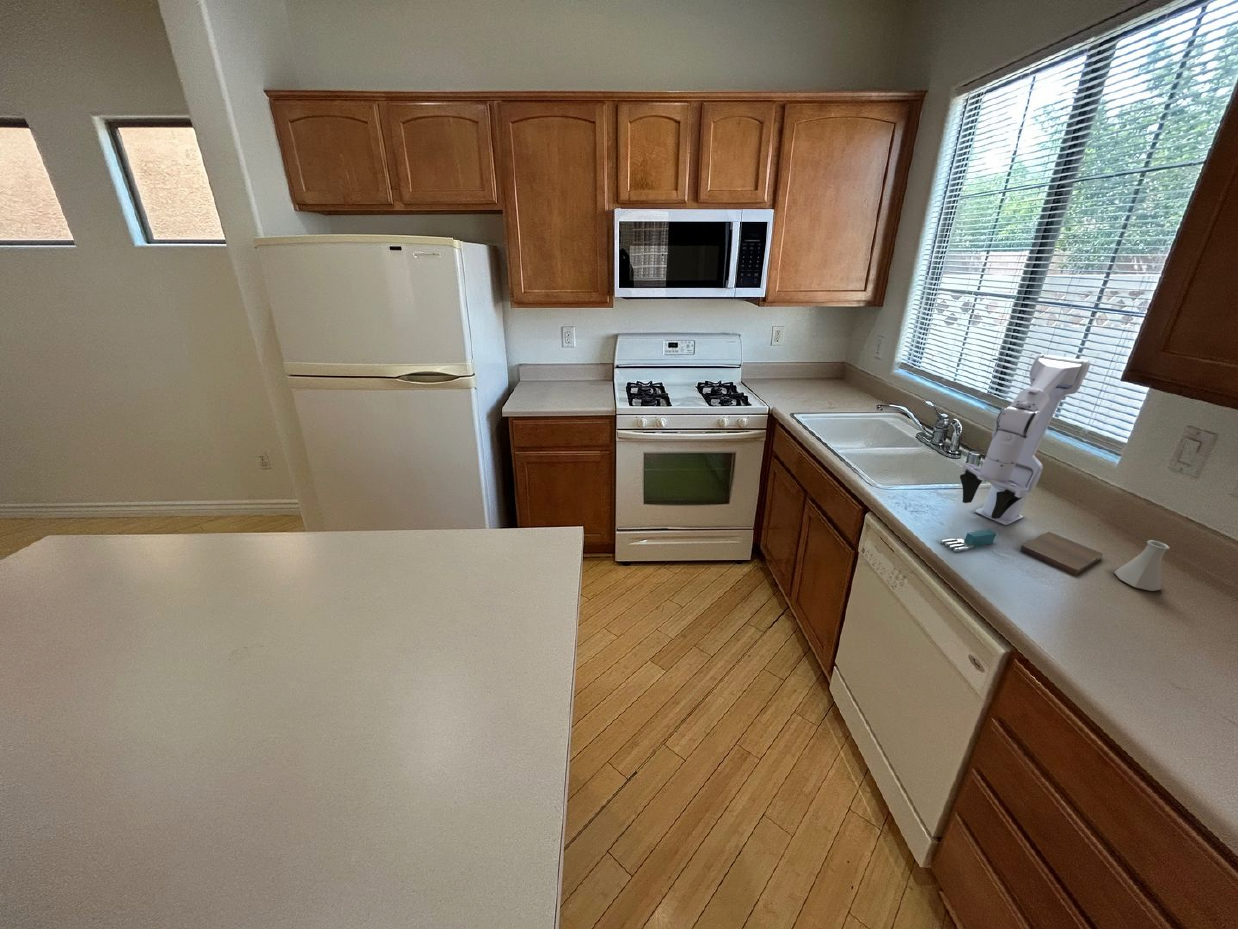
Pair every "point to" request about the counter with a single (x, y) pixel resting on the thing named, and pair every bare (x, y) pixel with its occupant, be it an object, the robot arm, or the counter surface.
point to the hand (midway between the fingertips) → (980, 509)
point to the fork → (971, 540)
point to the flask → (1144, 567)
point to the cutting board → (1061, 552)
